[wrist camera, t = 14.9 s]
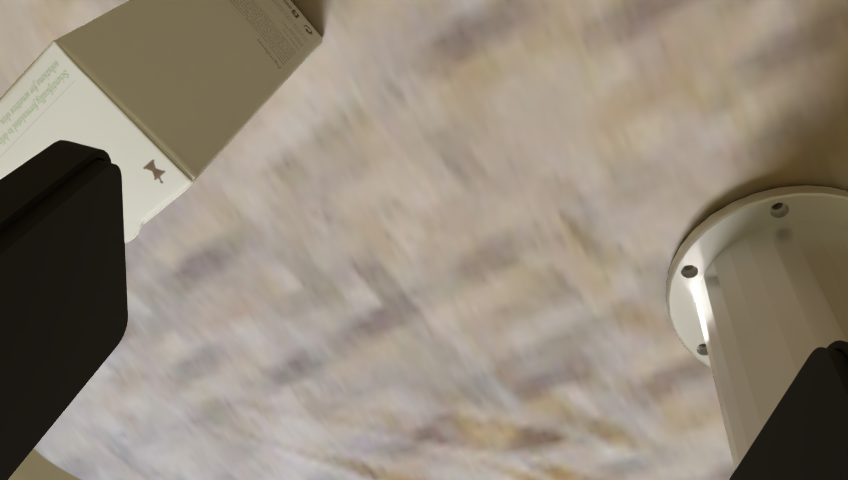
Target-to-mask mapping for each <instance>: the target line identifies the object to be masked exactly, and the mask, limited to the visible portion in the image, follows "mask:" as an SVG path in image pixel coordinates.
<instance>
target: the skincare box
mask: <svg viewBox="0 0 848 480" xmlns="http://www.w3.org/2000/svg"><path fill="white" fill-rule="evenodd" d="M321 43H322V38H321V36H320V35H319V34H318V32H317V31H316V30H315V29H314V28H313V27H312V25H311V24H310V23H309V22H308V20H307V19H306V18H305V17H304V16H303V14H302V13H301V12H300V11H299V10H298V8H297V7H296V6H295V5H294V4H293V2H292V1H291V0H129V1H128V2H126V3H124V4H122V5H120V6H118V7H116V8H114V9H112V10H111V11H109V12H107V13H105V14H103V15H102V16H100V17H98V18H96V19H94V20H93V21H91V22H89V23H87V24H86V25H84V26H81V27H79V28H77V29H75V30H74V31H72V32H70V33H68V34H66V35H64V36H62V37H60V38H59V39H57V40H54V41H53V42H52V43H51V44H50V45H49V46H48V47H47V48H46V49H45V50H44V51H43V52H42V53H41V55H40V56H39V57H38V58H37V59H36V60H35V61H34V62H33V63H32V64H31V65H30V66H29V67H28V68H27V70H26V71H25V72H24V73H23V74H22V75H21V76H20V77H19V78H18V79H17V80H16V82H15V83H14V84H13V85H12V86H11V87H10V88H9V89H8V90H7V92H6V93H5V94H4V95H3V96H2V97H1V98H0V179H2V178H3V177H5V176H6V175H8V174H9V173H11V172H12V171H13V170H15V169H16V168H18V167H19V166H21V165H22V164H24V163H25V162H27V161H28V160H30V159H31V158H32V157H34V156H35V155H37V154H38V153H40V152H41V151H43V150H44V149H46V148H47V147H48V146H50V145H51V144H53V143H54V142H57V141H59V140H67V141H71V142H75V143H79V144H82V145H86V146H90V147H94V148H98V149H102V150H104V151H106V152H107V153H108V154H109V157H110V159H111V163H113V164H116V165H117V166H119V168H120V170H121V175H122V195H123V218H124V240H125V243H127V242H129V241H131V240H132V239H134V238H135V237H136V236H137V235H138V233H139V231H140V229H141V227H142V225H144V224H145V223H146V222H147V221H149V220H150V219H151V218H152V217H154V216H155V215H156V214H157V213H159V212H160V211H161V210H162V209H164V208H165V207H166V206H167V205H168V204H170V203H171V202H172V201H173V200H175V199H176V198H177V197H178V196H180V195H181V194H182V193H183V192H184V191H185V190H187V189H188V188H189V187H190V186H191V185H192V184H193V183H194V181H195V180H196V179H197V178H198V177H199V176H200V175H201V174H202V173H203V171H204V170H205V169H206V168H207V167H208V166H209V165H210V164H211V162H212V161H213V160H214V159H215V158H216V157H217V156H218V155H219V154H220V153H221V151H222V150H223V149H224V148H225V147H226V146H227V145H228V144H229V143H230V142H231V141H232V139H233V138H234V137H235V136H236V135H237V134H238V133H239V132H240V131H241V130H242V128H243V127H244V126H245V125H246V124H247V123H248V122H249V121H250V120H251V119H252V117H253V116H254V115H255V114H256V113H257V112H258V111H259V110H260V109H261V108H262V106H263V105H264V104H265V103H266V102H267V101H268V100H269V99H270V98H271V97H272V96H273V95H274V93H275V92H276V91H277V90H278V89H279V88H280V87H281V86H282V85H283V84H284V82H285V81H286V80H287V79H288V78H289V77H290V76H291V75H292V74H293V72H294V71H295V70H296V69H297V68H298V67H299V66H300V65H301V64H302V63H303V62H304V60H305V59H306V58H307V57H308V56H309V55H310V54H311V53H312V52H313V51H314V50H315V49H316V48H317V47H318V46H319V45H320V44H321Z"/></svg>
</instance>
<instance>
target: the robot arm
mask: <svg viewBox="0 0 848 480" xmlns="http://www.w3.org/2000/svg"><path fill="white" fill-rule="evenodd" d="M777 203H779V204H778V205H776V206H773V205H774V204H777ZM687 265H688V266H687ZM666 301H667V307H668V314H669V317H670V320H671V323H672V326H673V329H674V331H675V333H676V335H677V336H678V338H679V339H680V341H681V342H682V344H683V345H684V347H685V348H686V349H687V350H688V351H689V352H690V353H691V354H692V355H693V356H694V357H695V358H697V359H698V360H700V361H701V362H703V363H704V364H706V365H707V366H709V367H710V368H711V369H712V373H713V378H714V382H715V386H716V390H717V395H718V399H719V403H720V407H721V412H722V416H723V420H724V425H725V429H726V433H727V437H728V442H729V446H730V450H731V454H732V459H733V463H734V467H735V471H734V473H733V475H732V476H731V478H730V480H848V191H845V190H841V189H837V188H833V187H823V186H810V185H802V186H790V187H779V188H775V189H771V190H767V191H762V192H758V193H754V194H752V195H749V196H747V197H745V198H742V199H740V200H737V201H735V202H732V203H730V204H729V205H727V206H725V207H724V208H722V209H720V210H719V211H717V212H715V213H714V214H712V215H710V216H709V217H708V218H707V219H706V220H705V221H703V222H702V223H701V224H700V225H699V226H698V227H696V228H695V229H694V230H693V231H692V232H691V234H690V235H689V236H688V237H687V239H686V240H685V241H684V242H683V243H682V245H681V246H680V248H679V250H678V252H677V253H676V255H675V257H674V259H673V261H672V263H671V266H670V270H669V273H668V277H667V281H666ZM127 322H128V309H127V286H126V263H125V240H124V218H123V195H122V175H121V170H120V168H119V166H117V165H116V164H113V163H111V159H110V157H109V154H108V153H107V152H106V151H104V150H102V149H98V148H94V147H90V146H86V145H82V144H79V143H75V142H71V141H67V140H59V141H57V142H54V143H53V144H51V145H50V146H48V147H47V148H46V149H44V150H43V151H41V152H40V153H38V154H37V155H35V156H34V157H32V158H31V159H30V160H28V161H27V162H25V163H24V164H22V165H21V166H19V167H18V168H16V169H15V170H13V171H12V172H11V173H9V174H8V175H6V176H5V177H3V178H2V179H0V480H8V479H9V477H10V476H11V475H12V474H13V472H14V471H15V470H16V469H17V468H18V466H19V465H20V464H21V463H22V462H23V460H24V459H25V458H26V457H27V455H28V454H29V453H30V452H31V451H32V449H33V448H34V447H35V446H36V444H37V443H38V442H39V441H40V440H41V438H42V437H43V436H44V435H45V433H46V432H47V431H48V430H49V428H50V427H51V426H52V425H53V424H54V422H55V421H56V420H57V419H58V417H59V416H60V415H61V414H62V413H63V411H64V410H65V409H66V408H67V406H68V405H69V404H70V403H71V402H72V400H73V399H74V398H75V397H76V395H77V394H78V393H79V392H80V391H81V389H82V388H83V387H84V386H85V384H86V383H87V382H88V381H89V380H90V378H91V377H92V376H93V375H94V373H95V372H96V371H97V370H98V369H99V367H100V366H101V365H102V364H103V362H104V361H105V360H106V359H107V357H108V356H109V355H110V354H111V353H112V351H113V350H114V349H115V348H116V346H117V345H118V344H119V342H120V341H121V339H122V337H123V335H124V333H125V330H126V327H127Z"/></svg>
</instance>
